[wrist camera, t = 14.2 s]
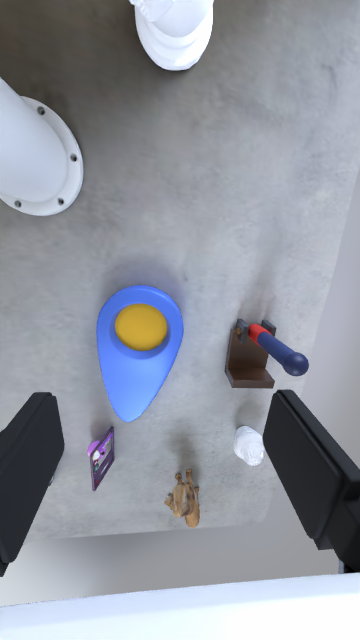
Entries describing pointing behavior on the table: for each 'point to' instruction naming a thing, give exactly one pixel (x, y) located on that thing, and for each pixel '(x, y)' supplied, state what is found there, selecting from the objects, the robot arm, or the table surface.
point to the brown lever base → (247, 359)
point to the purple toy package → (96, 453)
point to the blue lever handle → (279, 351)
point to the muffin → (249, 445)
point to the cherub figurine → (174, 30)
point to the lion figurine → (185, 500)
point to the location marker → (137, 346)
